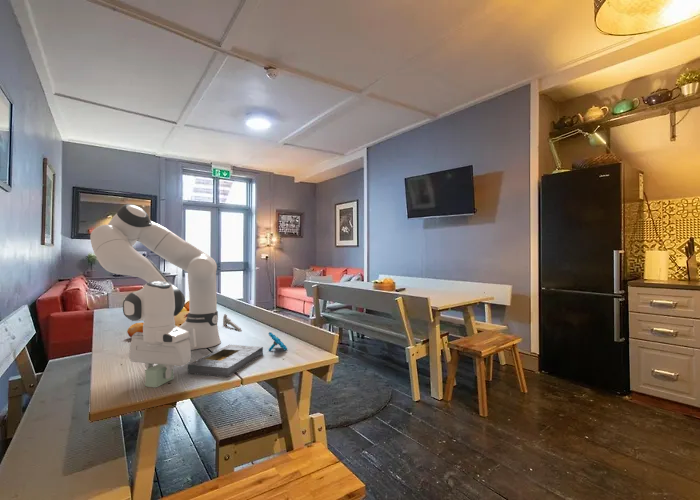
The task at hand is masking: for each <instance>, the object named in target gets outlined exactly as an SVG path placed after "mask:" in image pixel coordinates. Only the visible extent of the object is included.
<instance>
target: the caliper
mask: <svg viewBox="0 0 700 500" xmlns="http://www.w3.org/2000/svg"><path fill="white" fill-rule="evenodd" d="M222 322H223V323H222V324H223V326H227V325H230V326H231V327H232V328H233V329H235V330H236V331H238V332H242V331H243V330H242V328H241V327H240V326H238V325H237V324H235V323H234V322H233V321H232V320H231V319H230V318H229V317H228V315H227V314H226V313H225V314H223V319H222Z"/></svg>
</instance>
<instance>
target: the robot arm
mask: <svg viewBox="0 0 700 500" xmlns="http://www.w3.org/2000/svg"><path fill="white" fill-rule="evenodd" d="M89 236H90V237H89V239H90V243H91V247H92V248H91V249H92V251H93V253H94V256H95V258H96V260H97V261H98V262H99V263H98V264H99V265H100V266H101V267H102V268H103V269H104V270H105V271H106V272H109V273H111V274H116V275H122V276H129V277H130V276H131V277H135V278H139V279H142V280H143V281H145V282H146V283H145V284H144V286H143V287H142V288H140V289H139V290H136V291H134V292H130V293H128V295H127V296H126V297H125V298H124V300H123V302H122V313H123V315H124V317H126V318H127V319H128V320H129V321H132V322H142V321H143V323H144V324H143V332H136V333H135V334H133V336H132V338H131V342H130V345H129V353H128V359H129V360H130V362H131V363H132V362H133V363H139V364H140V363H141V364H144V367H145V370H146V369H149V368H151V367H153V366H154V365H158V364H162V365H166V368H167V370H166V372H164V373H163V378H165V379H168V378H170V377H171V371H172V369H173V370H174V368H175V367H183V366H186V365H187V364H190V363H189V362H190V361H191V358H192V351H193V350H197V349H198V350H199V349H206V348H211V347H215V346H218V345H220V344H221V343H222V340H221V337H220V334H219V328H218V327H219V326H218V320H219V311H218V307H217V303H218V302H217V300H218V298H217V294H218V293H217V269H218V265H217V262H216V261H215V259H214V258H213V257H211V256H210V255H208V254H207V253H205V252H204V251H202V250H200V249H199V248H197V247H195V246H194V245H192V244H191V243H189V242H188V241H186V240H185V239H183V238H181V237H180V236H179V235H177V234H176V233H174V232H173V231H171V230H169V229H168V228H167V227H164V226H163V225H161V224H159V223H156V222H155V221H152V220H151V218H150V216H149V214H148V213H147V212H146V211H145V210H144V209H143V207H140V206H138V205H135V204H129V203H128V204H123V205H122V206H121V207H119V209H117V211H116V213H115V214H114V216H113V217H112V218H111V219H110V221H109V222H108V223H107V224H101V225H99V226H97V227H95V228H94V229H93V230H92V231H91V232H90V235H89ZM137 242H140V243H141V244H142V245H143V246H144V247H145V248H147V249H148V250H149V251H151V252H153V253H154V254H156V255H157V256H159V257H161V258H162V259H163V260H165V261H167V262H168V263H170V264H172V265H173V266H175V267H177V268H178V269H181V270H182V271H185V272H186V273H187V283H188V284H187V285H188V294H189V295H188V296H189V298H188V299H189V300H188V301H189V303H188V304H189V307H188V308H189V311H188V313H186V314H184V315H183V318H186V319H185V322H183V323H182V324H181V325H179V326H178V325H176V320H175V317H177V316H178V315H179V314H180V313H181V312H182V310H183V309H184V307H185V304H186V298H185V295H184V294H183V292H182V291H181V290H180V288H178V287H176V285H174V284H173V283H172V282H171V281H170V280H169V279H168V278H167V277H166V275H165V274H164V273H163V271H162V270H161V269H160V268H159V267H158V266H157V265H156V264H155V262H153V261H152V260H151V259H150V258H148V257H146V256H144V255H143V254H141V253H140V252H139V251H138V250H136V249H135V248H134V247H133V246H134V245H135V244H136V243H137Z"/></svg>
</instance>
